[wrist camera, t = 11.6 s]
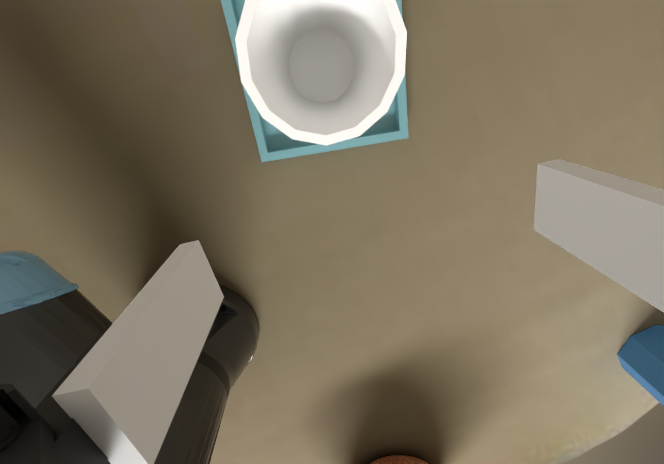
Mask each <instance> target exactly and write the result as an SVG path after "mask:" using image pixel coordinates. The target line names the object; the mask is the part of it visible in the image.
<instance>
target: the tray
mask: <svg viewBox="0 0 664 464" xmlns="http://www.w3.org/2000/svg"><path fill="white" fill-rule="evenodd" d="M221 3H222V7H223V11H224V15H225V19H226V23H227V27H228V31H229V35H230V39H231V42H232V46H233V50H234V54H235V58H236V62H237V66H238V70H239V63H238V56H237V49H236V42H235V37H236V33H237V30H238V26H239V22H240V18H241V14H242V11H243V7H244V3H245V0H221ZM396 3H397V6H398V9H399V11H400V14H401V17H402V0H396ZM239 74H240V70H239ZM240 78H241V77H240ZM242 86H243V84H242ZM243 90H244V94H245V98H246V102H247V106H248V110H249V114H250V118H251V122H252V126H253V129H254V133H255V137H256V141H257V145H258V149H259V153H260V157H261V161H262V162H266V161H272V160H278V159H284V158H290V157H296V156H302V155H308V154H314V153H320V152H326V151H332V150H339V149H345V148H351V147H357V146H363V145H369V144H375V143H381V142H387V141H393V140H399V139H405V138H408V119H407V100H406V80H405V76H404V78H403V80H402V82H401V84H400V86H399V89H398V91H397V93H396V95H395V97H394V99H393V101H392V103H391V105H390V107H389V110H388V112H387V113H386V114H385V115H383V116H382V117H381V118H380V119H379V120H378V121H376V122H375V123H374V124H373V125H372V126H371V127H370V128H368V129H367V130H366V131H365V132H364V133H363V134H362V135H360V136H359V137H355V138H351V139H348V140H344V141H341V142H337V143H334V144H330V145H327V146H326V145H321V144H315V143H310V142H304V141H299V140H294V139H291V138H290V137H288V136H287V135H286V134H284V133H283V132H281V131H280V130H279V129H277V128H276V127H275V126H273V125H272V124H270V123H269V122H268V121H266V120H265V119H263V118H262V116H261V115H260V113H259V111H258V110H257V108H256V106H255V105H254V103H253V101H252V100H251V98H250V96H249V95H248V93H247V91H246V90H245V88H244V86H243Z"/></svg>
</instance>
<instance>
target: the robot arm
mask: <svg viewBox="0 0 664 464" xmlns="http://www.w3.org/2000/svg"><path fill="white" fill-rule="evenodd" d="M534 230H535V231H537V232H538V233H540V234H541V235H543V236H545V237H546V238H548V239H549V240H551V241H552V242H554V243H556V244H557V245H559V246H560V247H562V248H563V249H565V250H566V251H568V252H570V253H571V254H573V255H574V256H576V257H577V258H579V259H581V260H582V261H584V262H585V263H587V264H588V265H590V266H591V267H593V268H595V269H596V270H598V271H599V272H601V273H602V274H604V275H606V276H607V277H609V278H610V279H612V280H613V281H615V282H616V283H618V284H620V285H621V286H623V287H624V288H626V289H627V290H629V291H631V292H632V293H634V294H635V295H637V296H638V297H640V298H641V299H643V300H645V301H646V302H648V303H649V304H651V305H652V306H654V307H656V308H657V309H659V310H660V311H662V312H663V313H664V190H663V189H660V188H657V187H653V186H650V185H646V184H643V183H639V182H636V181H632V180H629V179H625V178H622V177H619V176H615V175H612V174H608V173H605V172H601V171H598V170H594V169H591V168H588V167H584V166H581V165H577V164H574V163H570V162H567V161H563V160H560V159H556V160H552V161H548V162H543V163H539V164H538V167H537V184H536V200H535V216H534ZM77 288H79V287H78V286H77V284H75V283H70V282H69V281H68V280H66V279H65V278H64V277H63V276H61V275H60V274H59V273H58V272H57V271H55V270H54V269H53V268H52V267H51V266H49V265H48V264H47V263H46V262H45V261H43V260H42V259H41V258H39V257H38V256H36V255H34V254H31V253H28V252H23V251H7V252H1V253H0V464H209V463H210V460H211V456H212V453H213V449H214V445H215V442H216V438H217V434H218V431H219V427H220V423H221V420H222V416H223V412H224V409H225V405H226V401H227V398H228V395H229V391H230V389H231V387H232V386H233V385H234V383H235V382H236V380H237V379H238V377H239V376H240V374H241V373H242V371H243V370H244V368H245V367H246V366H247V365H248V364H249V362H250V361H251V359H252V357H253V355H254V353H255V350H256V346H257V342H258V338H259V324H258V320H257V317H256V315H255V313H254V312H253V310H252V308H251V307H250V306H249V305H248V304H247V302H246V301H244V300H243V299H242V298H241V297H240V296H239V295H237V294H236V293H234V292H232V291H231V290H229V289H227V288H224V287H222V286H219V284H218V282H217V280H216V278H215V276H214V273H213V271H212V269H211V267H210V264H209V262H208V260H207V258H206V255H205V253H204V251H203V249H202V246H201V244H200V242H199V240H197V241H192V242H188V243H184V244H180V245H179V246H178V247H177V248H176V249H175V251H174V252H173V253H172V254H171V255H170V257H169V258H168V259H167V260H166V261H165V262H164V264H163V265H162V266H161V267H160V268H159V270H158V271H157V272H156V273H155V274H154V275H153V277H152V278H151V279H150V280H149V281H148V283H147V284H146V285H145V286H144V287H143V288H142V290H141V291H140V292H139V293H138V294H137V296H136V297H135V298H134V299H133V300H132V302H131V303H130V304H129V305H128V306H127V307H126V309H125V310H124V311H123V312H122V313H121V315H120V316H119V317H118V318H117V319H116V320H115V322H114V323H112V322H111V321H110V320H109V319H108V318H107V317H105V316H104V315H103V314H102V313H101V312H100V311H99V310H98V309H97V308H96V307H95V306H94V305H93V304H92V303H91V302H90V301H89V300H88V299H87V298H85V297H84V296H83V295H82V294H81V293H80V292H79V291H78V290H77Z"/></svg>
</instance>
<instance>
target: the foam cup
mask: <svg viewBox="0 0 664 464" xmlns="http://www.w3.org/2000/svg"><path fill="white" fill-rule="evenodd" d="M406 41H407V31H406V28H405V25H404V22H403V20H402V17H401V14H400V11H399V9H398V6H397V3H396V0H245V3H244V7H243V11H242V14H241V18H240V22H239V26H238V30H237V33H236V37H235V42H236V49H237V56H238V63H239V70H240V77H241V83H242V84H243V86H244V88H245V90H246V91H247V93H248V95H249V96H250V98H251V100H252V101H253V103H254V105H255V106H256V108H257V110H258V111H259V113H260V115H261V116H262V118H263V119H265V120H266V121H268V122H269V123H270V124H272V125H273V126H275V127H276V128H277V129H279V130H280V131H281V132H283V133H284V134H286V135H287V136H288V137H290V138H291V139H294V140H299V141H304V142H310V143H315V144H321V145H326V146H327V145H330V144H334V143H337V142H341V141H344V140H348V139H351V138H355V137H359V136H360V135H362V134H363V133H364V132H365V131H366V130H367V129H368V128H370V127H371V126H372V125H373V124H374V123H375V122H376V121H378V120H379V119H380V118H381V117H382V116H383V115H385V114H386V113H387V112H388V110H389V107H390V105H391V103H392V101H393V99H394V97H395V95H396V93H397V91H398V89H399V86H400V84H401V82H402V80H403V78H404V76H405V59H406Z"/></svg>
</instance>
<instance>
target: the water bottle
mask: <svg viewBox="0 0 664 464" xmlns="http://www.w3.org/2000/svg"><path fill="white" fill-rule="evenodd" d="M617 355H618V357H619V360H620V362H621V365H622V367H623V368H624V369H625V370H626V371H627V372H628V373H629V374H630V375H631V376H632V377H633V378H634V379H635V380H636V381H637V382H638V383H639V384H641V385H642V386H643V387H644V388H645V389H646V390H647V391H648V392H649V393H650V394H651V395H652V396H653V397H654V398H655V399H657V400H658V401H659V402H660V403H661V404H662V405H663V406H664V326H663V325H654V326H652V327H650V328H648V329H645V330H643V331H641V332H639V333H636V334H634V335H632V336H630V338H629V339H628V340H627V342H626V343H625V344H624V346H623V347H622V348H621V350H620V351H619V352H618V354H617Z"/></svg>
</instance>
